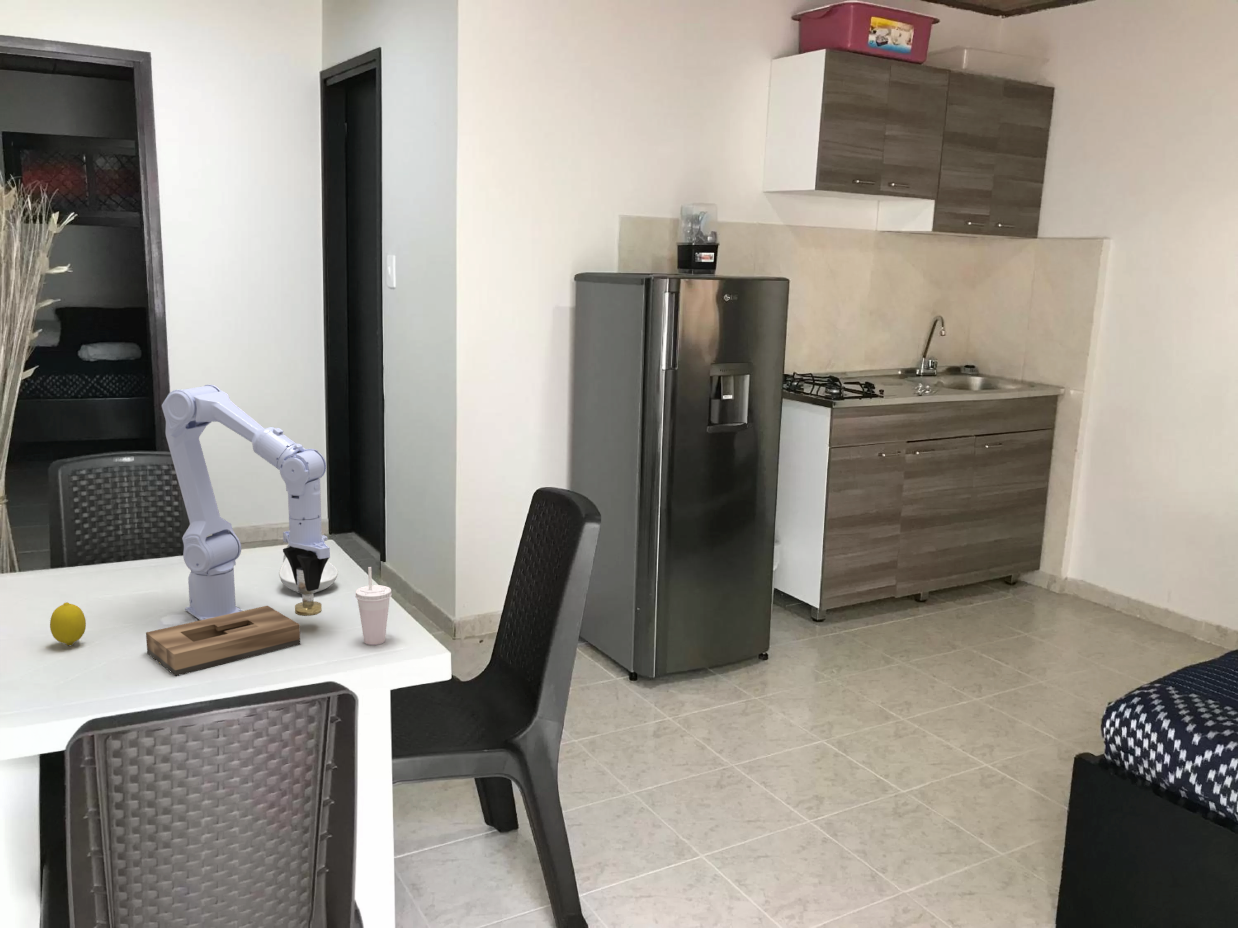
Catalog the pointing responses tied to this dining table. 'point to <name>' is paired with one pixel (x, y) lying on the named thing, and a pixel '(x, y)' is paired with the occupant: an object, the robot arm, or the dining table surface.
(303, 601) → the peg
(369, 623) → the smoothie
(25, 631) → the dining table surface
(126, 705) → the dining table surface
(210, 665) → the keyhole board
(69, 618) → the lemon
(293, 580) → the spoon rest
